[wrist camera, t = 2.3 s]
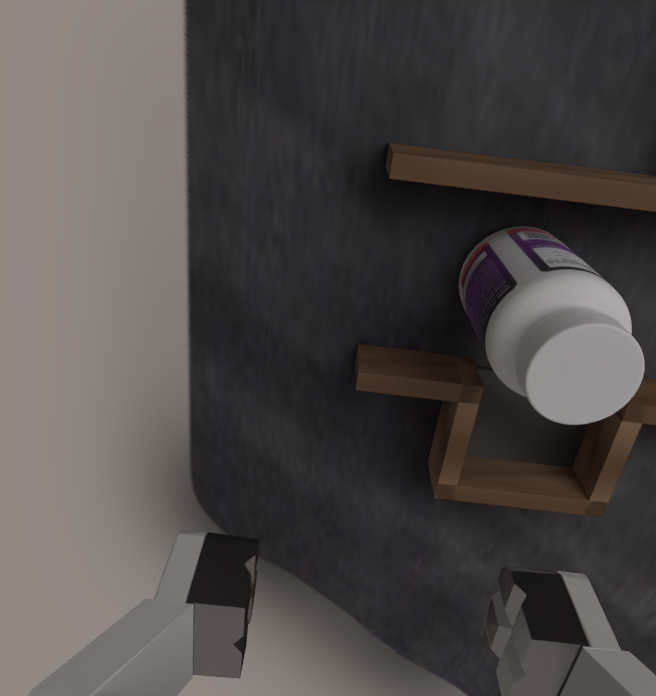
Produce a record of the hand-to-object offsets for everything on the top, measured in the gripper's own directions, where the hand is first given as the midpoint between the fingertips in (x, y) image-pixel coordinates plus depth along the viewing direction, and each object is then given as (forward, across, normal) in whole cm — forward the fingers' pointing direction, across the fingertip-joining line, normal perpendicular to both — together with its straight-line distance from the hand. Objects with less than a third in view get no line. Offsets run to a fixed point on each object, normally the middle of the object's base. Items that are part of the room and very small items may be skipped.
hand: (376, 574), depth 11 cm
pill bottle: (+19, -8, 0) cm, 21 cm away
